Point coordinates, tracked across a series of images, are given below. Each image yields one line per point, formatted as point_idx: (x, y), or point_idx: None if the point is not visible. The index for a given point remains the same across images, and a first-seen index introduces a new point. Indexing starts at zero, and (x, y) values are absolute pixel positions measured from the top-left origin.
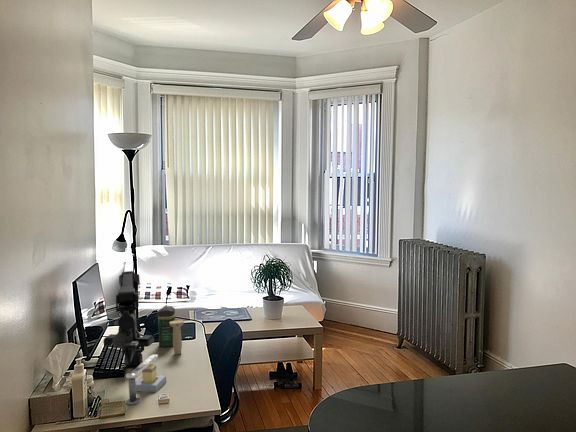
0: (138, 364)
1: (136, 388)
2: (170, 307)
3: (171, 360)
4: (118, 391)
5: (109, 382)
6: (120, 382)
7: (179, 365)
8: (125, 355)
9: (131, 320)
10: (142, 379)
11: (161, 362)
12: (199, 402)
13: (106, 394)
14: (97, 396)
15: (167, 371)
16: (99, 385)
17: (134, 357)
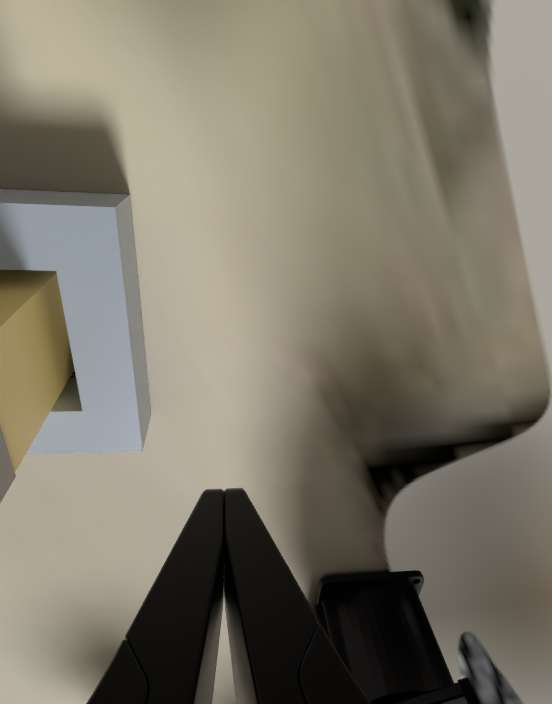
0: (322, 608)
1: (77, 196)
2: None
3: None
4: (286, 166)
5: (448, 356)
6: (351, 365)
7: (36, 644)
8: (304, 597)
9: None
10: (23, 303)
11: None
12: None
13: (392, 72)
14: (481, 3)
15: (60, 568)
16: (521, 292)
17: (360, 660)
